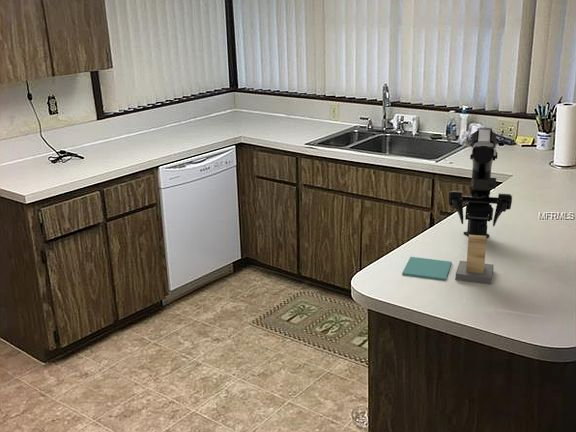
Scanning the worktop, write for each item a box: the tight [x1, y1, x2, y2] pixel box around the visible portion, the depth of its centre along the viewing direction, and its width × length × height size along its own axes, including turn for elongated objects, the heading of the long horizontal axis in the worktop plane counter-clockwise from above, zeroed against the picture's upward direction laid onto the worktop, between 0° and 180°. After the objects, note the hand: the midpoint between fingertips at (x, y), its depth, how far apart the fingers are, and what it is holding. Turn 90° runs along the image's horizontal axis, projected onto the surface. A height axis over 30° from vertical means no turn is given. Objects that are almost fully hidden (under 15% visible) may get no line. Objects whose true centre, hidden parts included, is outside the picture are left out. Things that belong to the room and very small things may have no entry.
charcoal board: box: [454, 260, 494, 285], centre depth 191 cm, size 10×10×2 cm
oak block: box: [466, 235, 487, 273], centre depth 189 cm, size 5×5×10 cm
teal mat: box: [401, 256, 452, 281], centre depth 196 cm, size 13×13×1 cm
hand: (477, 224), depth 194 cm, fingers open, 9 cm apart
